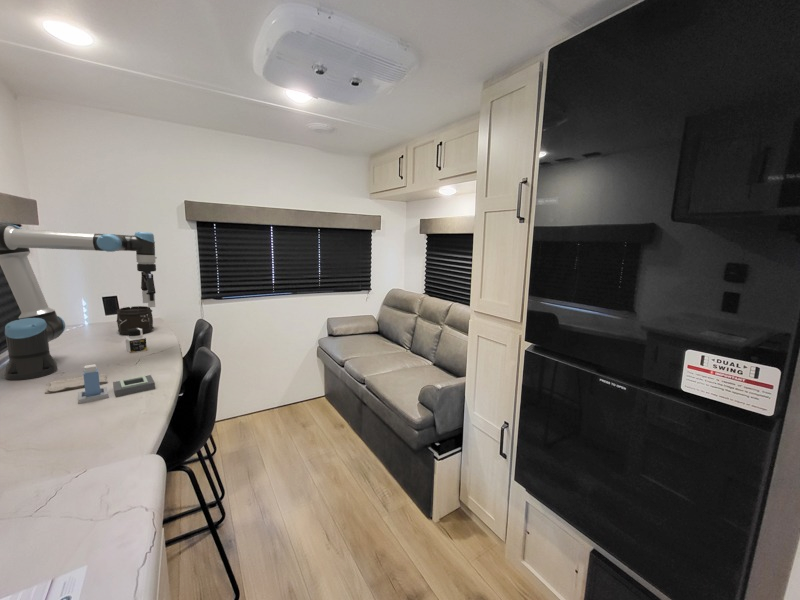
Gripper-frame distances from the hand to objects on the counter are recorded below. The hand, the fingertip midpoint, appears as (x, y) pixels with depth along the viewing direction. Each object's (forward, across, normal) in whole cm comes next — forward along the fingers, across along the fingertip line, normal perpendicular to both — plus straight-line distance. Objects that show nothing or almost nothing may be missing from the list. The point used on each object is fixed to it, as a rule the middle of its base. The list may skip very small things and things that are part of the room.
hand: (148, 305), depth 168 cm
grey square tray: (+26, -46, +26) cm, 59 cm away
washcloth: (+27, -28, +29) cm, 49 cm away
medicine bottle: (+27, +12, +4) cm, 30 cm away
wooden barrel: (+27, +55, -1) cm, 61 cm away
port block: (+26, -46, +14) cm, 55 cm away
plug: (+25, -46, +26) cm, 58 cm away
